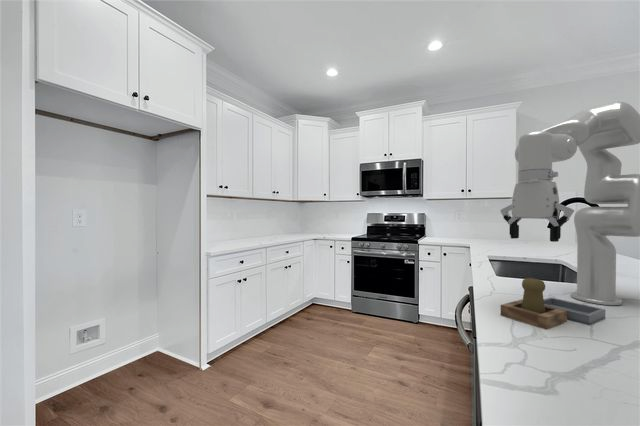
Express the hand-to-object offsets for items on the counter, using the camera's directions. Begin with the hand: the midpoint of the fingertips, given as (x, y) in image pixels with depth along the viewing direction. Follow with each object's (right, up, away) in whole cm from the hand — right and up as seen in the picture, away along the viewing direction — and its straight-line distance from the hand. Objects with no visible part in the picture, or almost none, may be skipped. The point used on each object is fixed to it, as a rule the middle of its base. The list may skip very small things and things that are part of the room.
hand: (533, 239), depth 80 cm
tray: (+13, -22, +4) cm, 26 cm away
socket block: (0, -22, 0) cm, 22 cm away
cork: (0, -22, 0) cm, 22 cm away
